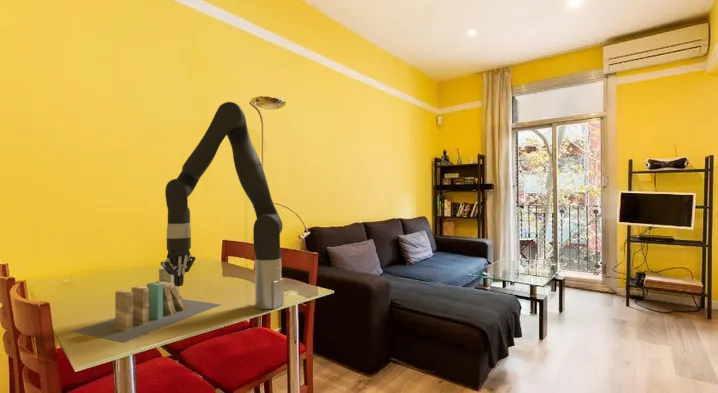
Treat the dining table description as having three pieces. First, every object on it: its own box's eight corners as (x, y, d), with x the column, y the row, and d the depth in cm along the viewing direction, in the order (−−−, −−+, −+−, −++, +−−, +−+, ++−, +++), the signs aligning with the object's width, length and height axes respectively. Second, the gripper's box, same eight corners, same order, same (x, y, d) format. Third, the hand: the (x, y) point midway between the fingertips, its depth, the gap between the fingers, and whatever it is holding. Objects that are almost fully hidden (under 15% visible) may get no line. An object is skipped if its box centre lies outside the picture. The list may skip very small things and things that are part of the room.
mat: (221, 305, 127) (221, 304, 127) (123, 344, 94) (123, 342, 94) (176, 299, 135) (176, 298, 135) (72, 332, 102) (72, 331, 102)
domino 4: (164, 310, 120) (156, 281, 117) (175, 311, 118) (167, 282, 115) (160, 313, 118) (152, 283, 115) (171, 314, 116) (163, 285, 113)
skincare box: (180, 297, 138) (180, 266, 138) (170, 300, 134) (170, 268, 134) (167, 296, 140) (167, 265, 140) (158, 299, 136) (158, 267, 136)
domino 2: (137, 321, 110) (137, 286, 110) (148, 323, 108) (148, 287, 109) (131, 322, 109) (131, 287, 109) (143, 325, 107) (143, 289, 107)
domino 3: (157, 319, 111) (157, 285, 112) (146, 317, 113) (146, 283, 113) (162, 317, 113) (162, 283, 113) (151, 316, 115) (151, 282, 115)
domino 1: (121, 326, 106) (121, 290, 106) (132, 328, 104) (132, 291, 104) (115, 328, 104) (115, 291, 104) (126, 330, 102) (127, 293, 102)
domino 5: (176, 304, 124) (162, 281, 119) (187, 306, 122) (173, 283, 117) (173, 308, 123) (158, 285, 117) (183, 310, 121) (169, 287, 115)
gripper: (170, 238, 115) (170, 291, 114) (201, 234, 127) (201, 282, 127) (153, 237, 117) (153, 289, 117) (186, 234, 130) (186, 280, 130)
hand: (178, 285), depth 122 cm, fingers closed
